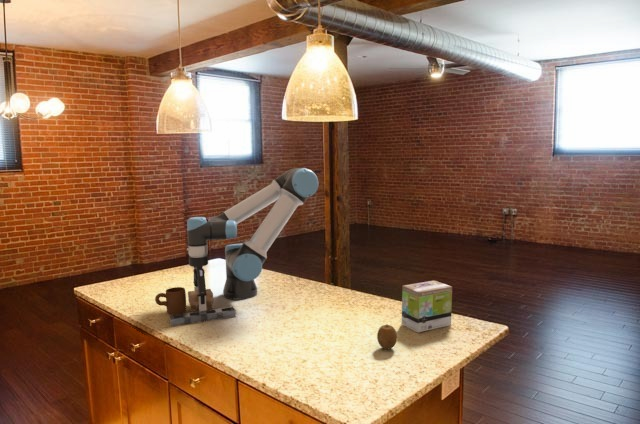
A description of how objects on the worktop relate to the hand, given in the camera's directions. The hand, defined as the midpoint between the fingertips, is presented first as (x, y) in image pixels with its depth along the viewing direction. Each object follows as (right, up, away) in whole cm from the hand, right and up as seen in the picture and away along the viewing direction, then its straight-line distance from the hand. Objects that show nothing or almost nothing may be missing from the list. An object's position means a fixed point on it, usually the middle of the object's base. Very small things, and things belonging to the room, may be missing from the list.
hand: (200, 306), depth 192 cm
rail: (+4, -2, -12) cm, 13 cm away
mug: (-10, -2, -4) cm, 12 cm away
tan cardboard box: (0, -1, 0) cm, 1 cm away
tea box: (+87, -2, -23) cm, 90 cm away
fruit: (+70, -5, -43) cm, 82 cm away
